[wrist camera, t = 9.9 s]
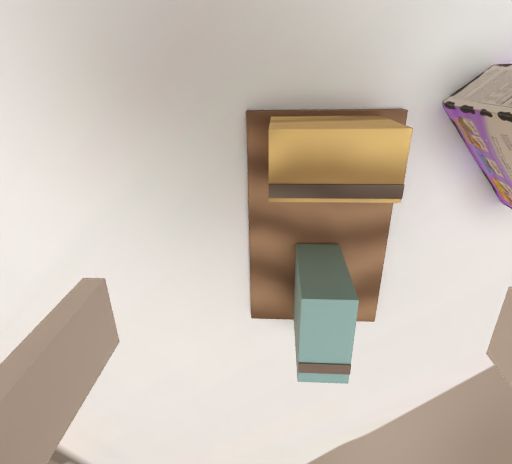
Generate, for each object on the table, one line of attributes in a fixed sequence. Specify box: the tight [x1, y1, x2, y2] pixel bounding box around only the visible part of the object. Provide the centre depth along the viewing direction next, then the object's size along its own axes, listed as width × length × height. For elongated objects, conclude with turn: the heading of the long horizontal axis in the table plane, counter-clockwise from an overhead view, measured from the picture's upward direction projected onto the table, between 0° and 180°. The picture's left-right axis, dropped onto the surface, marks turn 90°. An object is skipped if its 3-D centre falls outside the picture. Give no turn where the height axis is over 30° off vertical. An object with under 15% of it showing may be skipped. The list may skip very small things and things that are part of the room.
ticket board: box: [246, 109, 413, 322], centre depth 37 cm, size 26×16×10 cm, turn 1°
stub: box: [294, 244, 359, 383], centre depth 38 cm, size 10×5×11 cm, turn 1°
